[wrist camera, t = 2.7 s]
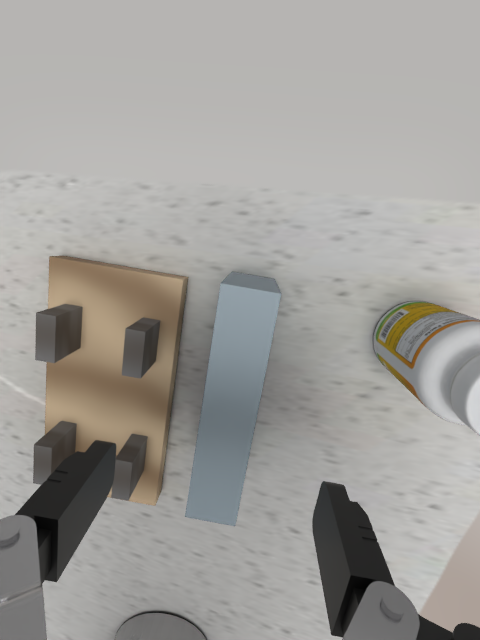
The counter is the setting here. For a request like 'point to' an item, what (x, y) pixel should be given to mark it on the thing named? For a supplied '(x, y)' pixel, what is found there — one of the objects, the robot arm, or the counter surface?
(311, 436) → the counter surface
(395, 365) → the supplement bottle
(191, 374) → the counter surface
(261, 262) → the counter surface
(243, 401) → the blue grey rectangular block
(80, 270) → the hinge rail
